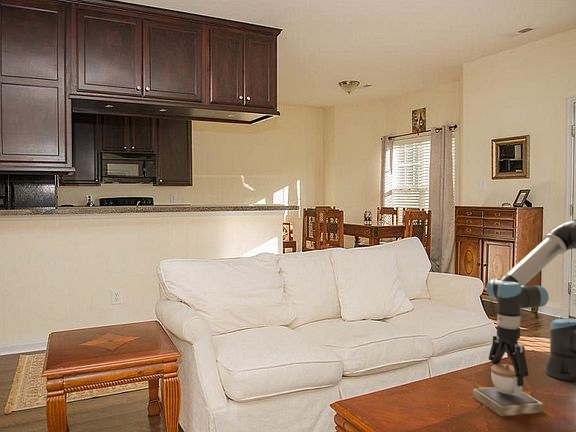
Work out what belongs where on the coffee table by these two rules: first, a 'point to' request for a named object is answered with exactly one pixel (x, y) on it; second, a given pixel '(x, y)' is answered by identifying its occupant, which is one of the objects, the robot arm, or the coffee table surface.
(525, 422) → the coffee table surface
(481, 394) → the stand
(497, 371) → the lidded jar
